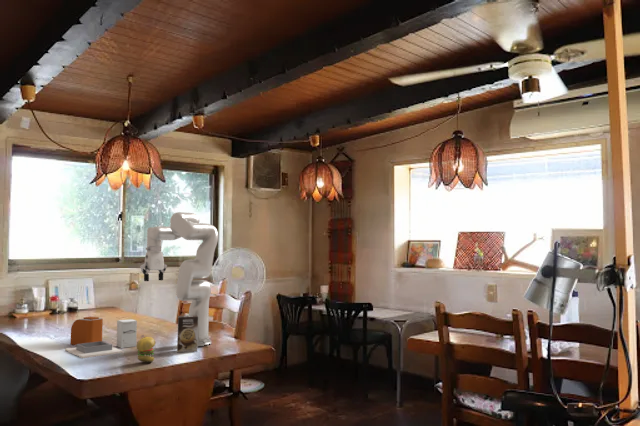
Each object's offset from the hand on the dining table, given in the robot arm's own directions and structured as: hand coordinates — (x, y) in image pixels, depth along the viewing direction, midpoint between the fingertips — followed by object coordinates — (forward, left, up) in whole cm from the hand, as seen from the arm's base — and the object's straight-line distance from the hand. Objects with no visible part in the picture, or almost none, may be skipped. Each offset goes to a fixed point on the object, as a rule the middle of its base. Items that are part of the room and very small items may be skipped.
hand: (153, 280), depth 283 cm
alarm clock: (-1, +35, -30) cm, 46 cm away
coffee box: (-51, +7, -30) cm, 60 cm away
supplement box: (-20, +23, -30) cm, 43 cm away
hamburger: (-62, +32, -30) cm, 76 cm away
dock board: (-22, +39, -30) cm, 54 cm away
